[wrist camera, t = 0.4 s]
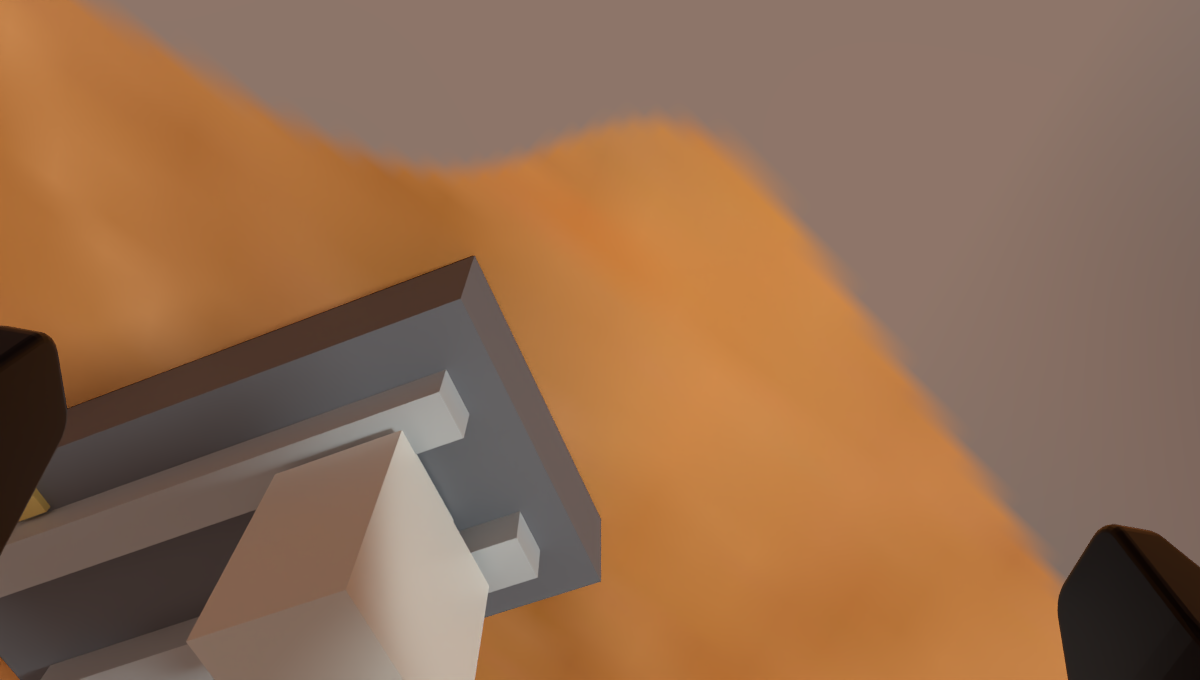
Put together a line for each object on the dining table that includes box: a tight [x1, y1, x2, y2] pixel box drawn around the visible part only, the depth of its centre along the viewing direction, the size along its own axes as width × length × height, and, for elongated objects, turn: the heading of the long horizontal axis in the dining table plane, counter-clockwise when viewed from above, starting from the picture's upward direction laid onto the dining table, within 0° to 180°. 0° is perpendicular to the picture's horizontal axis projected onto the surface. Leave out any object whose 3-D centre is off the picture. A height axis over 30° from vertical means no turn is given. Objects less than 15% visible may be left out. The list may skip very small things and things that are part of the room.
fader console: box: [0, 256, 601, 680], centre depth 24 cm, size 15×8×4 cm, turn 111°
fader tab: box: [186, 430, 489, 680], centre depth 20 cm, size 3×4×6 cm
